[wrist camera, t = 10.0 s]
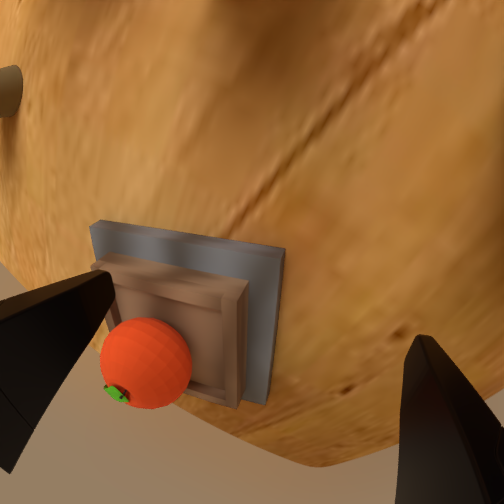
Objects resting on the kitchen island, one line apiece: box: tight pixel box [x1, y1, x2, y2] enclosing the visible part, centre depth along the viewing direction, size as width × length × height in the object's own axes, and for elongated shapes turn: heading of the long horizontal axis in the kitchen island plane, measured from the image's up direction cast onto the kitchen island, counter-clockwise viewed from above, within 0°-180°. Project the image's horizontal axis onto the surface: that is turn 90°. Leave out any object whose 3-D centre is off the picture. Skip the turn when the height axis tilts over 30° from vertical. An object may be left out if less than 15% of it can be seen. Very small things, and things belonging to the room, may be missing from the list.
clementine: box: [100, 317, 192, 409], centre depth 20 cm, size 8×7×7 cm
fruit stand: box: [89, 220, 285, 409], centre depth 24 cm, size 16×16×4 cm
